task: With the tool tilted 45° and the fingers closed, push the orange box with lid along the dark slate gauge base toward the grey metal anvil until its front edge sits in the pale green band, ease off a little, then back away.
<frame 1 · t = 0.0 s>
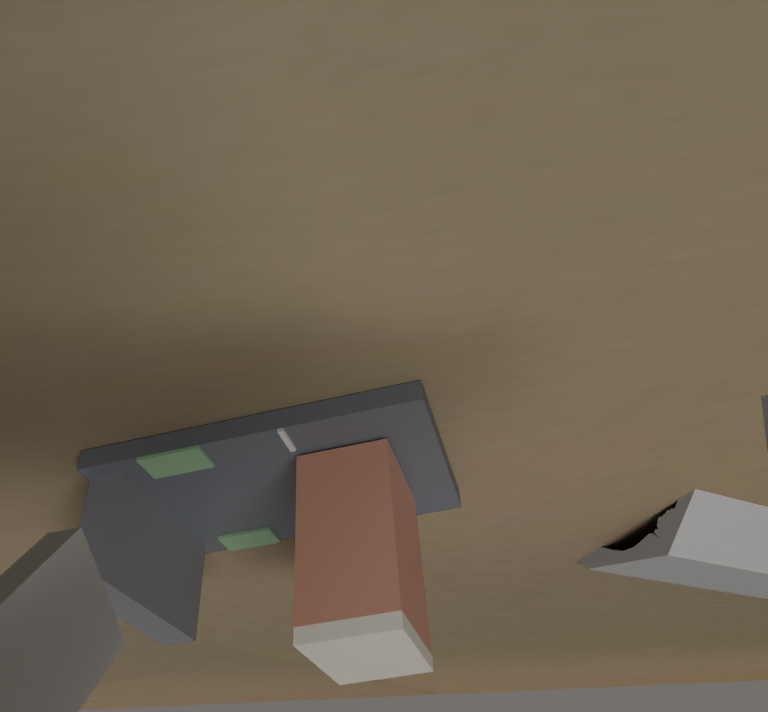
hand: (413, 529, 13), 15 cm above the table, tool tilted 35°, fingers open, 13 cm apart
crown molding: (759, 545, 56), on the table
orange box with lid: (363, 561, 35), point 6 cm above the table, slide at 0.0 cm
gauge base: (285, 472, 40), on the table
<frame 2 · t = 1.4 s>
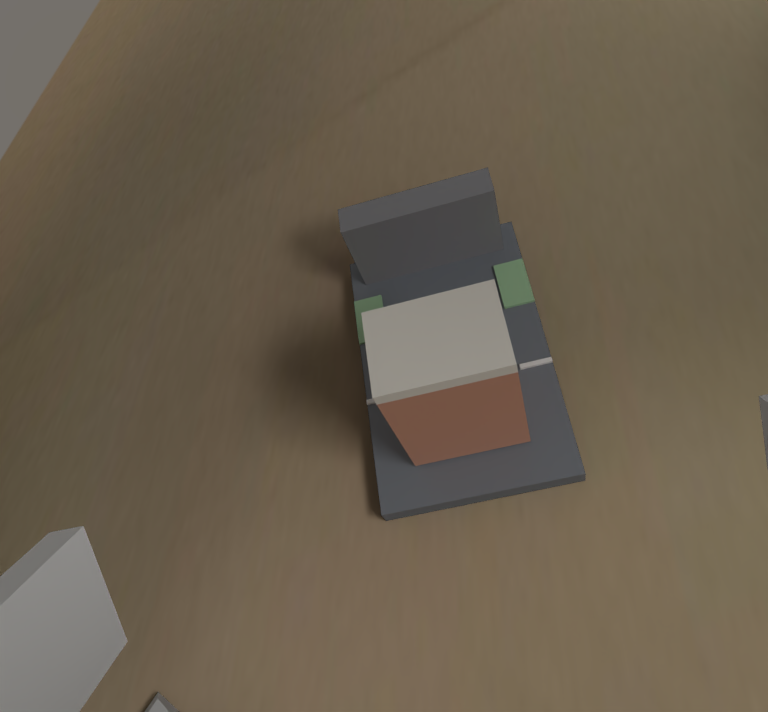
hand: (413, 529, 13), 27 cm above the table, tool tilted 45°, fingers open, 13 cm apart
orange box with lid: (451, 381, 37), point 6 cm above the table, slide at 0.0 cm
gauge base: (455, 363, 45), on the table
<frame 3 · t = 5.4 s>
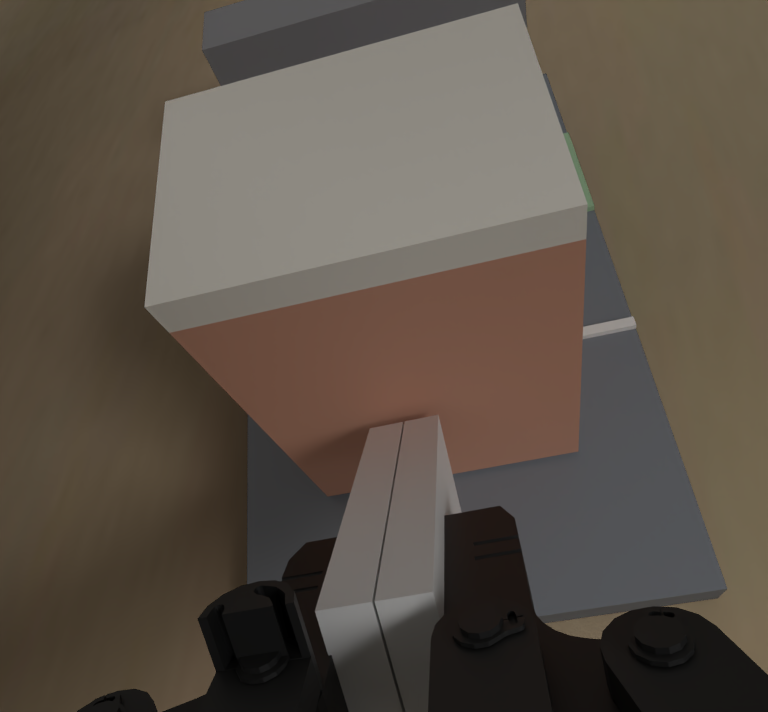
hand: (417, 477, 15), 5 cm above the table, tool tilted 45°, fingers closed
orange box with lid: (402, 302, 16), point 6 cm above the table, slide at 1.4 cm, touching gripper
gauge base: (430, 331, 23), on the table
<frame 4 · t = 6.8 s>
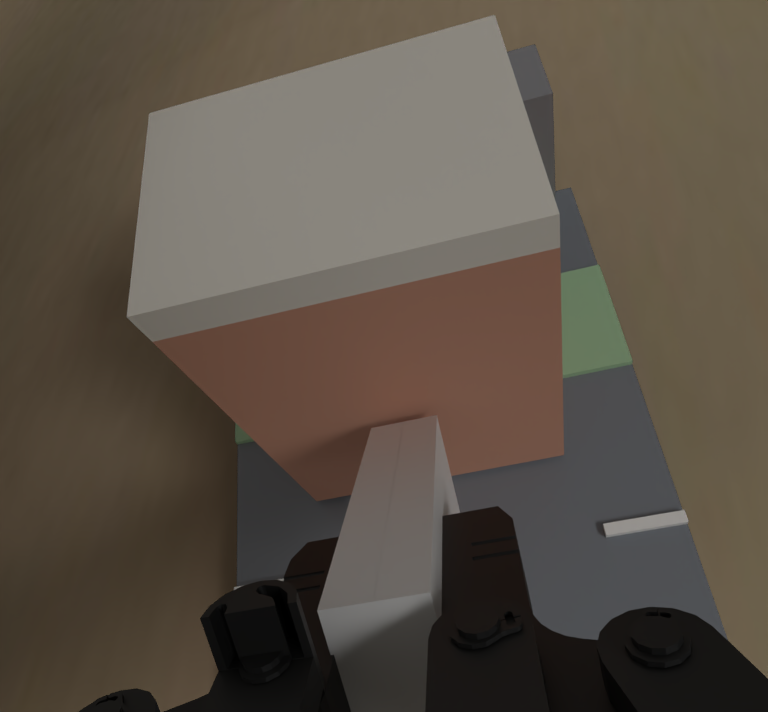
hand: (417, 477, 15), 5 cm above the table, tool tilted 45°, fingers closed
orange box with lid: (387, 309, 16), point 6 cm above the table, slide at 7.1 cm, touching gripper
gauge base: (445, 499, 20), on the table
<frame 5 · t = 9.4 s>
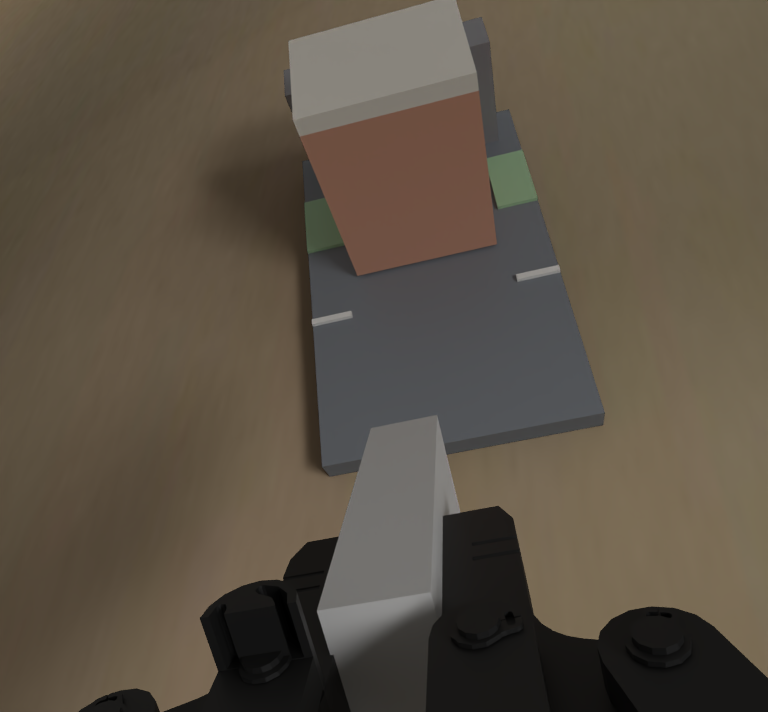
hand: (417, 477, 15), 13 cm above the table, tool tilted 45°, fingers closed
orange box with lid: (400, 150, 30), point 6 cm above the table, slide at 7.2 cm
gauge base: (431, 279, 34), on the table
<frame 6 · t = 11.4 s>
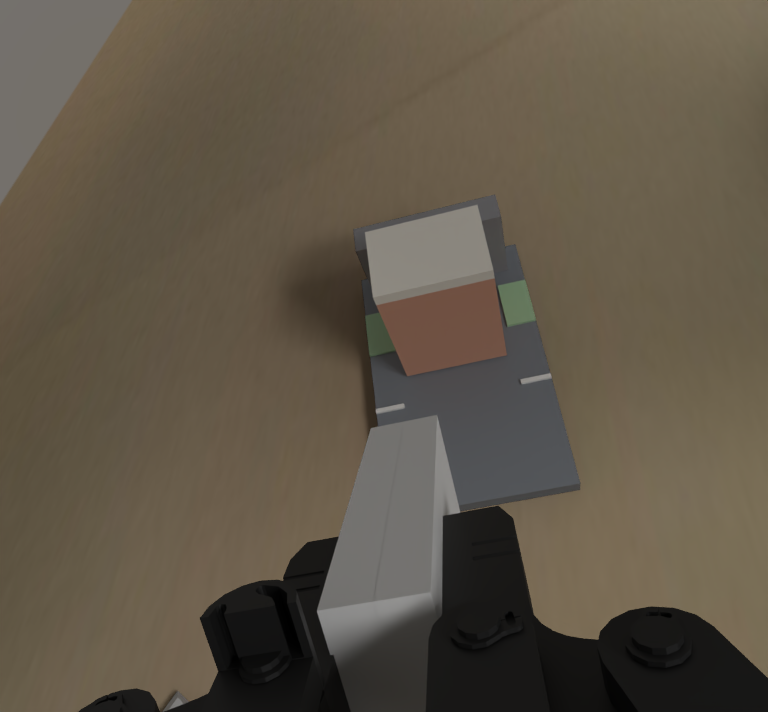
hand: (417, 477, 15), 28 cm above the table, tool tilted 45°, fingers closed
orange box with lid: (439, 297, 44), point 6 cm above the table, slide at 7.2 cm
gauge base: (459, 377, 48), on the table
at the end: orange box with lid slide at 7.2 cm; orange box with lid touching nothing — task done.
